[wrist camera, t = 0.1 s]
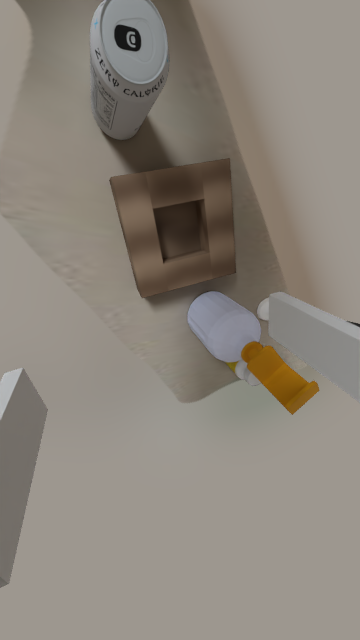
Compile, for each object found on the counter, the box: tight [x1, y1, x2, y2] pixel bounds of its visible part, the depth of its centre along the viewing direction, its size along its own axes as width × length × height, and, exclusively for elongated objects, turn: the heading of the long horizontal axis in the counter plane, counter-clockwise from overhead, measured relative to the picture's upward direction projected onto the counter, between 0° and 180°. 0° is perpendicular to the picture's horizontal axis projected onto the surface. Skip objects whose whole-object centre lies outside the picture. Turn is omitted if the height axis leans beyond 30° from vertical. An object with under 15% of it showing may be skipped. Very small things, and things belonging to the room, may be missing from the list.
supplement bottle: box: [225, 359, 261, 386], centre depth 47 cm, size 5×5×10 cm
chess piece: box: [257, 298, 269, 320], centre depth 46 cm, size 5×5×10 cm
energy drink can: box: [90, 0, 170, 140], centre depth 23 cm, size 6×6×15 cm
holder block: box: [109, 158, 236, 298], centre depth 36 cm, size 16×16×4 cm
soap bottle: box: [188, 291, 319, 415], centre depth 36 cm, size 9×9×25 cm
